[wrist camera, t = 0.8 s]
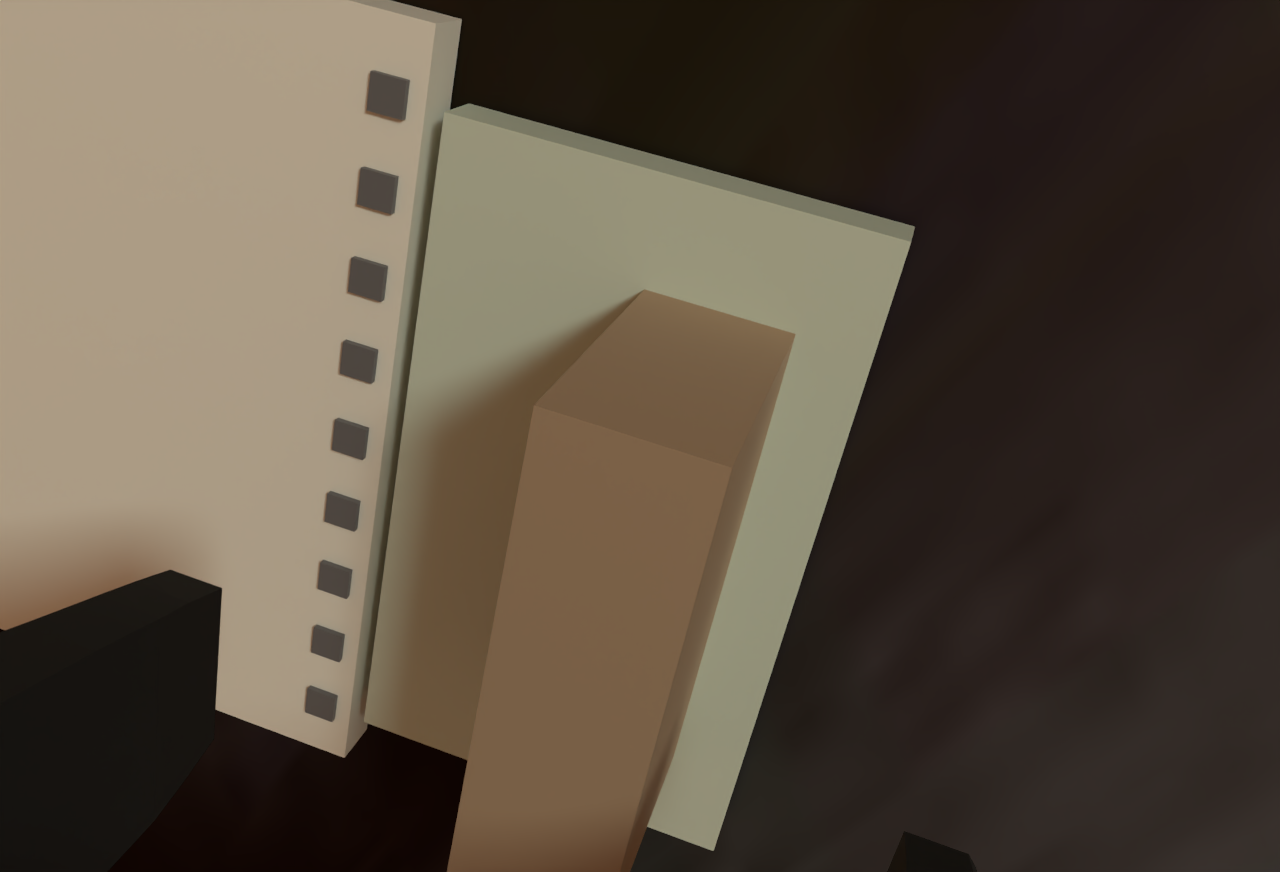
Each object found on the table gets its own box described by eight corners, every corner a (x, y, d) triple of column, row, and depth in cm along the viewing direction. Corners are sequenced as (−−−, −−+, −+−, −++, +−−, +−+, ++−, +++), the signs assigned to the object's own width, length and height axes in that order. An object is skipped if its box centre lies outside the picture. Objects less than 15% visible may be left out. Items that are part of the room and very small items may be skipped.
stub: (724, 816, 19) (644, 1081, 14) (386, 693, 20) (217, 908, 15) (914, 227, 14) (884, 354, 10) (469, 103, 15) (265, 171, 11)
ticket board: (366, 729, 20) (341, 761, 20) (20, 600, 21) (-17, 626, 21) (461, 18, 15) (432, 24, 14) (-5, -105, 16) (-56, -106, 15)
